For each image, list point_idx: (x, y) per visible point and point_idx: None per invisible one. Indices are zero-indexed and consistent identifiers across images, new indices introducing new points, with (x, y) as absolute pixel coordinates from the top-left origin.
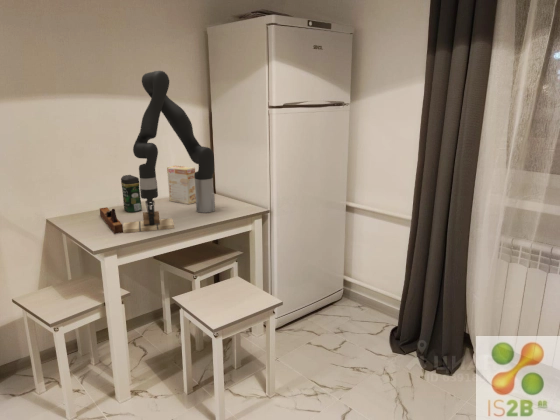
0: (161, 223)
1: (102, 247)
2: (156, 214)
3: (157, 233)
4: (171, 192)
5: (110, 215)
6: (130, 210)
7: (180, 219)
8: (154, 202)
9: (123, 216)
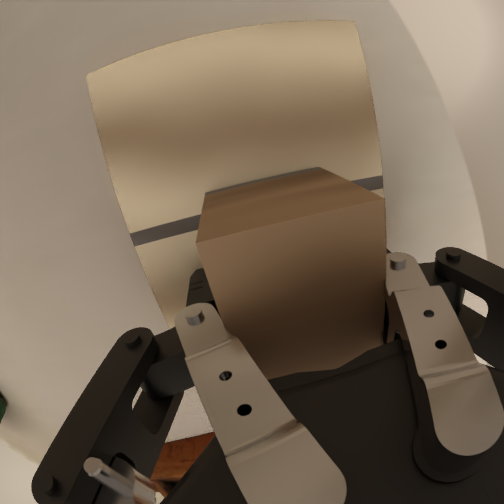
0: (281, 152)
1: (483, 361)
2: (380, 236)
3: (443, 170)
4: None
5: (172, 485)
6: (1, 406)
7: (52, 30)
8: (501, 421)
9: (59, 422)
